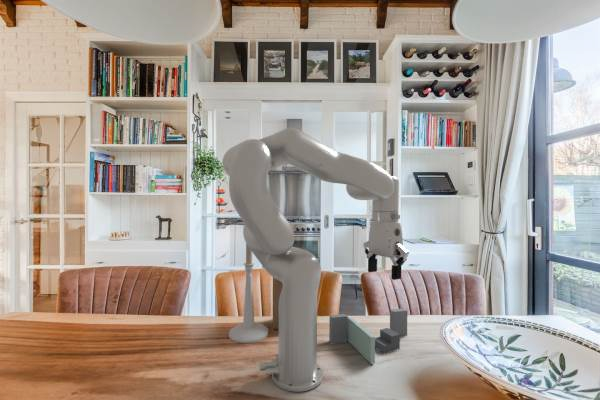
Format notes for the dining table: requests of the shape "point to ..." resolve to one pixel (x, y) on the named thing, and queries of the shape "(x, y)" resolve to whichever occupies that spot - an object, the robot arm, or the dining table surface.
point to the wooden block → (276, 301)
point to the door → (361, 339)
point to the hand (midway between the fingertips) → (383, 275)
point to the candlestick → (248, 311)
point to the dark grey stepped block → (387, 340)
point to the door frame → (340, 325)
